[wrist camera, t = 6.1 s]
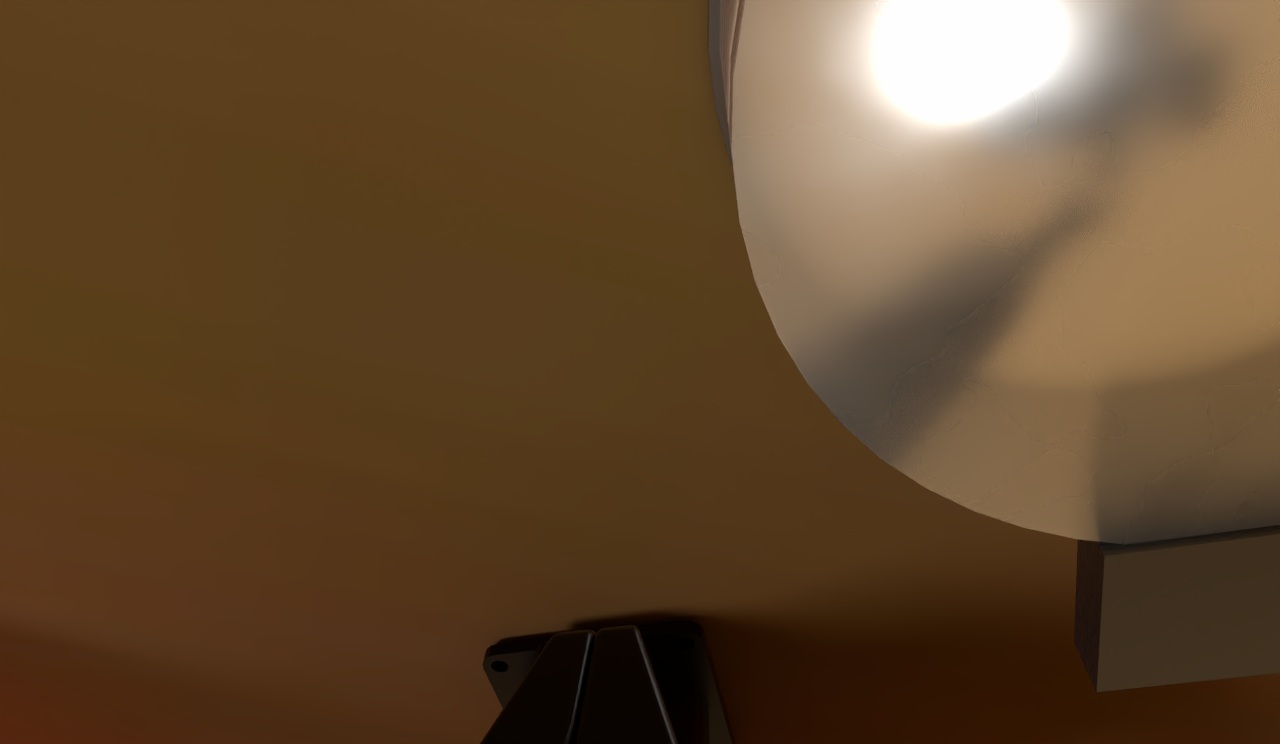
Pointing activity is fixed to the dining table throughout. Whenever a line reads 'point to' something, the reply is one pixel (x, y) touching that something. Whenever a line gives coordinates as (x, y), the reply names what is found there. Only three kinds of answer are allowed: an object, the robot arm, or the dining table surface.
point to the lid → (1043, 283)
